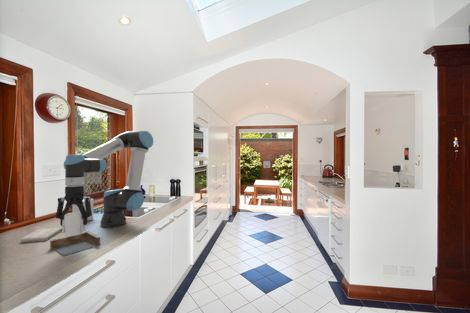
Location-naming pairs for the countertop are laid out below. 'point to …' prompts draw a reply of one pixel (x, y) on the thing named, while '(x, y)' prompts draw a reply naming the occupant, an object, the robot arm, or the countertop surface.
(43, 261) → the countertop surface
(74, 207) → the supplement box
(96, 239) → the corner walls
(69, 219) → the white cup
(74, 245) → the mat
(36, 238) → the washcloth
